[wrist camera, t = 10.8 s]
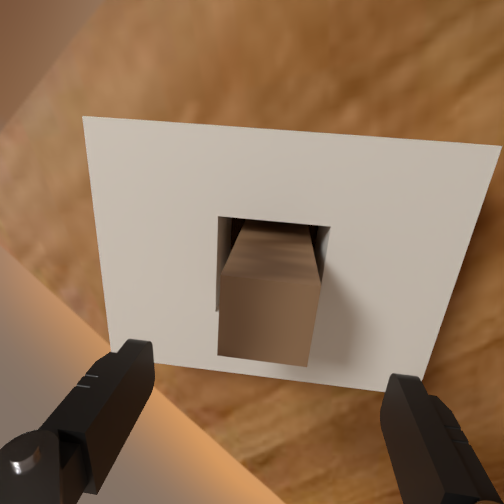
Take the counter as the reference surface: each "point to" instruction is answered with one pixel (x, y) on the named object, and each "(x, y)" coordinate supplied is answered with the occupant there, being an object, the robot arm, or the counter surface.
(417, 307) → the socket board
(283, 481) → the counter surface
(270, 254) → the peg
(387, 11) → the counter surface
